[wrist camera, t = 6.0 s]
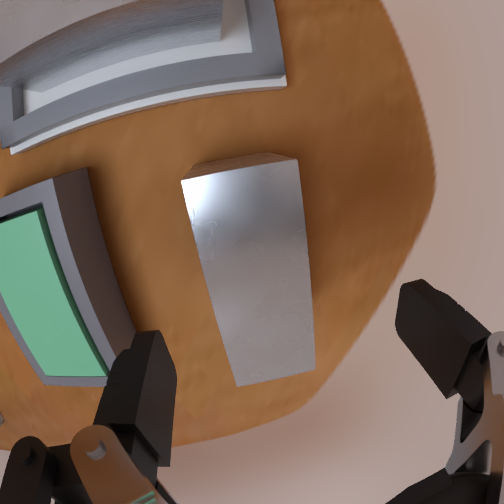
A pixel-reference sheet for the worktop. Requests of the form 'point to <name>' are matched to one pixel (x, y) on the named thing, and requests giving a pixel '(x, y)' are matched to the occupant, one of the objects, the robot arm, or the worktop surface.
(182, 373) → the worktop surface
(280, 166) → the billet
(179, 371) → the worktop surface
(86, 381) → the box
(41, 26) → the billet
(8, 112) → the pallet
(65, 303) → the button
